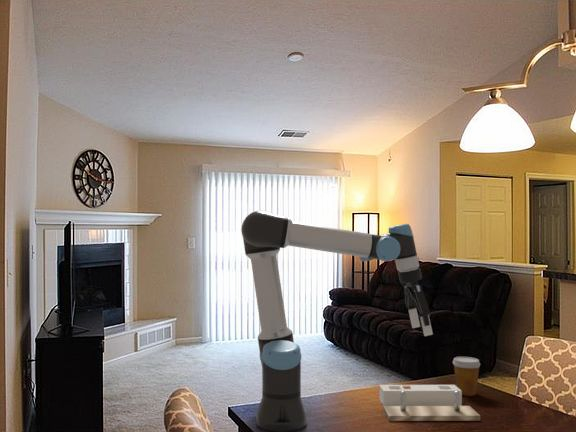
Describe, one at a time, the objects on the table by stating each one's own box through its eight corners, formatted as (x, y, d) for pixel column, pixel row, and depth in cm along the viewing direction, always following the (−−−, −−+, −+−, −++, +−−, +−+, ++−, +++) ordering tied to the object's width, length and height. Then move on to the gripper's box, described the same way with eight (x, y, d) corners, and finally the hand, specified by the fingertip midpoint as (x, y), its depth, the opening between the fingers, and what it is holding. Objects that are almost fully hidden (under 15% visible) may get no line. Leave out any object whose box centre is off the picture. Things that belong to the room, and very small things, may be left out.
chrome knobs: (401, 414, 159) (400, 392, 160) (399, 412, 161) (399, 390, 161) (461, 414, 159) (460, 392, 160) (459, 412, 161) (458, 390, 162)
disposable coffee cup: (485, 392, 184) (484, 359, 184) (474, 399, 177) (474, 364, 177) (459, 387, 190) (458, 355, 191) (448, 393, 183) (448, 359, 183)
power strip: (383, 406, 169) (383, 389, 169) (379, 399, 176) (379, 383, 176) (461, 406, 169) (461, 388, 170) (454, 399, 176) (454, 382, 176)
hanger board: (388, 420, 156) (388, 415, 156) (383, 410, 165) (383, 406, 165) (480, 420, 156) (480, 415, 156) (469, 410, 165) (469, 405, 165)
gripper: (431, 269, 161) (445, 336, 160) (409, 264, 186) (421, 322, 185) (408, 274, 160) (422, 341, 160) (389, 269, 185) (401, 326, 185)
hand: (422, 331), depth 172 cm, fingers open, 13 cm apart
